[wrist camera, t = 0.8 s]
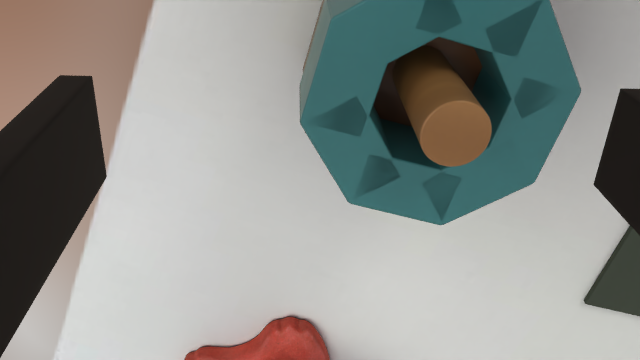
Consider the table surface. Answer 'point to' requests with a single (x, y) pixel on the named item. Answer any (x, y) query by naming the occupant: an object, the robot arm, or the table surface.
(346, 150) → the ring
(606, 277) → the mat
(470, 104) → the ring stand
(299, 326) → the stacking bear
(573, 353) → the table surface
